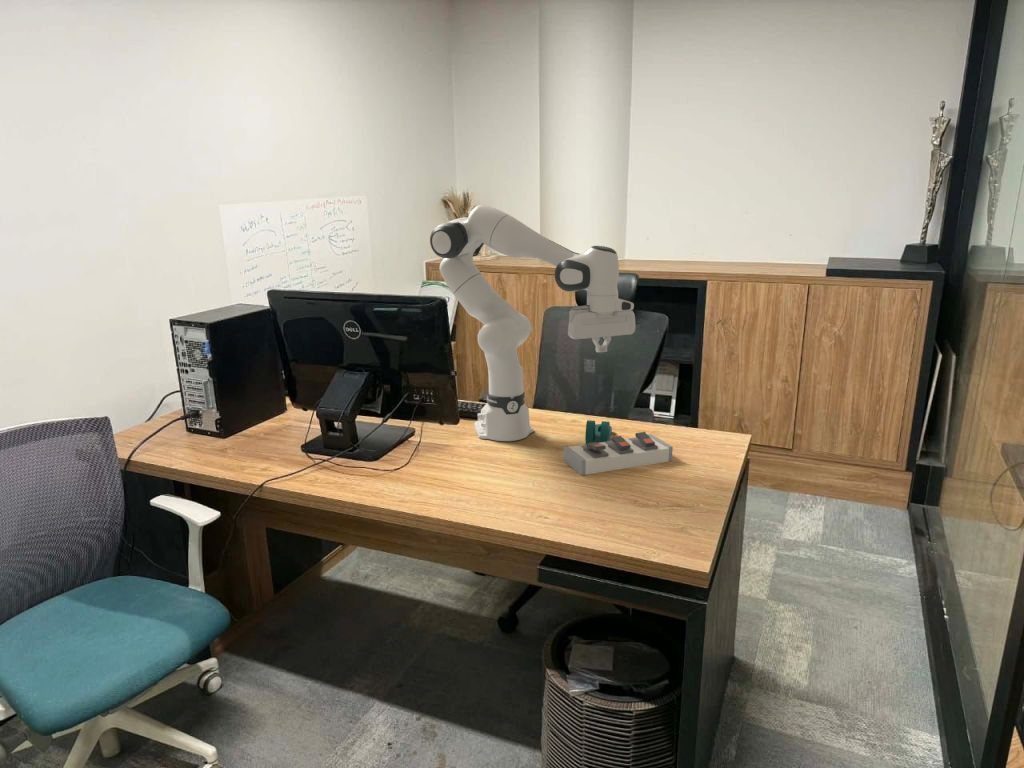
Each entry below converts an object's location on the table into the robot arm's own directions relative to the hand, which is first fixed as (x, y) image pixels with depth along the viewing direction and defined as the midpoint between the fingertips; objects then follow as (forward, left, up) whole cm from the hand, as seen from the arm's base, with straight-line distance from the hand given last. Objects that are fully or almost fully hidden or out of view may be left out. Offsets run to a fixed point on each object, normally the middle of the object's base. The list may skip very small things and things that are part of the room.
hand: (601, 351), depth 202 cm
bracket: (-11, +6, -32) cm, 34 cm away
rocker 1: (+9, -6, -25) cm, 27 cm away
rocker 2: (+9, +2, -25) cm, 27 cm away
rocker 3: (+9, +10, -25) cm, 29 cm away
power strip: (+8, +2, -31) cm, 32 cm away
